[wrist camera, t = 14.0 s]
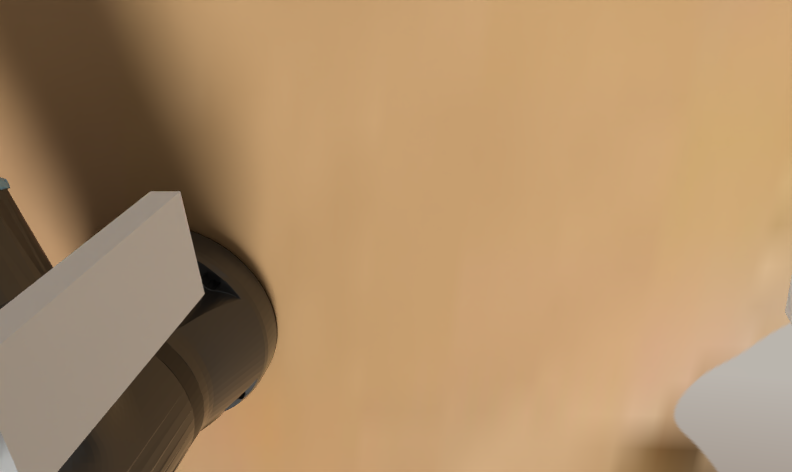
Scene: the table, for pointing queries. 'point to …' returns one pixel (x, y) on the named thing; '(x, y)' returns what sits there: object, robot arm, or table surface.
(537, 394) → the table surface
